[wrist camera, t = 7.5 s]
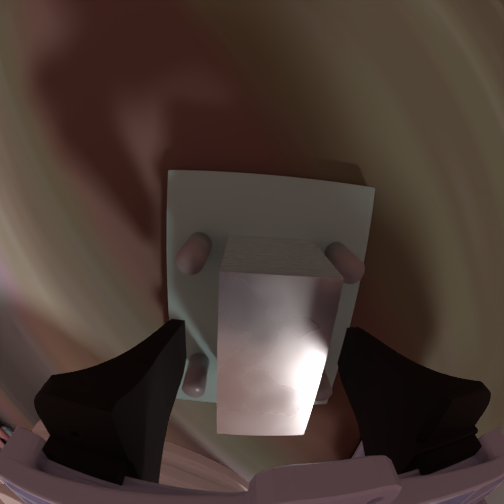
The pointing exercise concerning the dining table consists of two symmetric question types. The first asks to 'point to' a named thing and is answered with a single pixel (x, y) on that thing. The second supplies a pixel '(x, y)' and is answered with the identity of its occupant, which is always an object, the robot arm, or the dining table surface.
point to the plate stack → (171, 471)
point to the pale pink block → (272, 333)
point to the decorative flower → (4, 435)
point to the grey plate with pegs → (255, 224)
